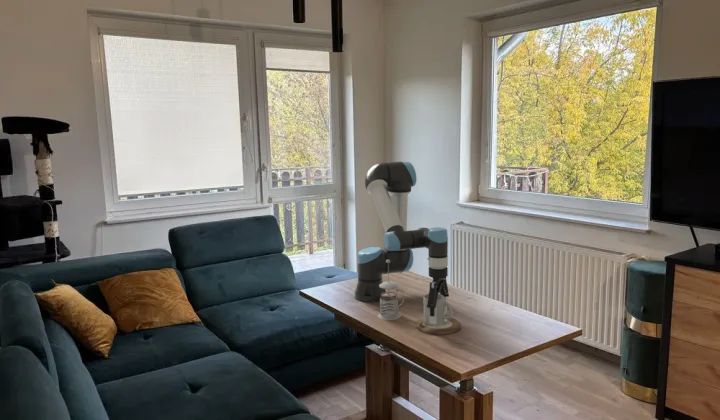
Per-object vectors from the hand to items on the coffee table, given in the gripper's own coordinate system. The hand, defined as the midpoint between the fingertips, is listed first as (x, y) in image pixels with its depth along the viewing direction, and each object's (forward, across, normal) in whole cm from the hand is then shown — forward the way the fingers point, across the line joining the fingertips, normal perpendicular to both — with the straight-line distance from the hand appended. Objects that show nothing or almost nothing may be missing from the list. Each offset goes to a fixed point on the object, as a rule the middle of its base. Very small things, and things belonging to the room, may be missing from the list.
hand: (438, 317), depth 211 cm
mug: (+3, 0, 0) cm, 3 cm away
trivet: (+4, 0, 0) cm, 4 cm away
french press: (+4, -4, -22) cm, 23 cm away
